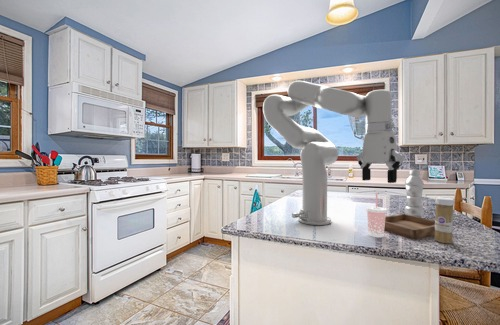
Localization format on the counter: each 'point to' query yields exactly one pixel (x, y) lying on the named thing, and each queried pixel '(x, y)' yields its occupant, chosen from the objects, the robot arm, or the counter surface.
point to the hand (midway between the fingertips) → (378, 181)
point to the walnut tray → (409, 226)
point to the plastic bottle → (414, 194)
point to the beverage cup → (376, 220)
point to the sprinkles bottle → (444, 219)
